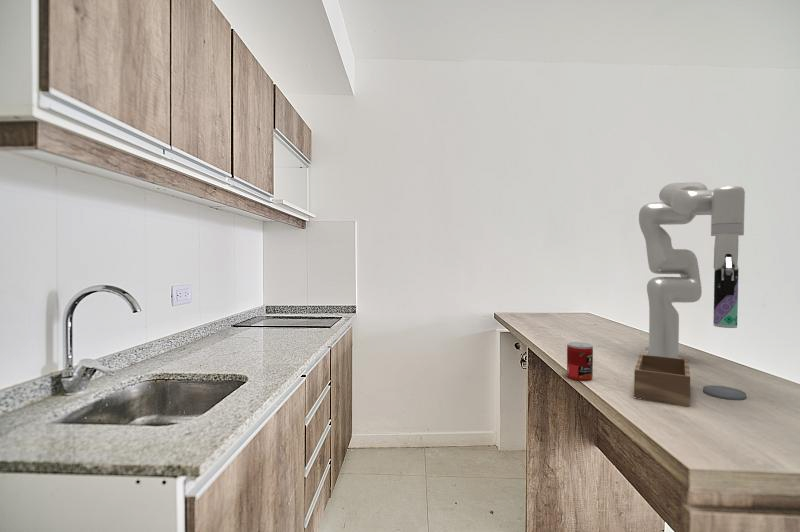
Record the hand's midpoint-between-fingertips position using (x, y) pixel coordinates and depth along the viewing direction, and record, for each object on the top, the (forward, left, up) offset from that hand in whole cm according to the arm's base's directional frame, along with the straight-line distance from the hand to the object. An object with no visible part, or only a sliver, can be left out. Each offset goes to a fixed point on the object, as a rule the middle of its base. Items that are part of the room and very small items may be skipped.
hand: (725, 293), depth 125 cm
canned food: (-20, -33, -29) cm, 48 cm away
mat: (0, 0, -29) cm, 29 cm away
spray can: (0, 0, -10) cm, 10 cm away
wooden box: (-4, -16, -29) cm, 33 cm away
